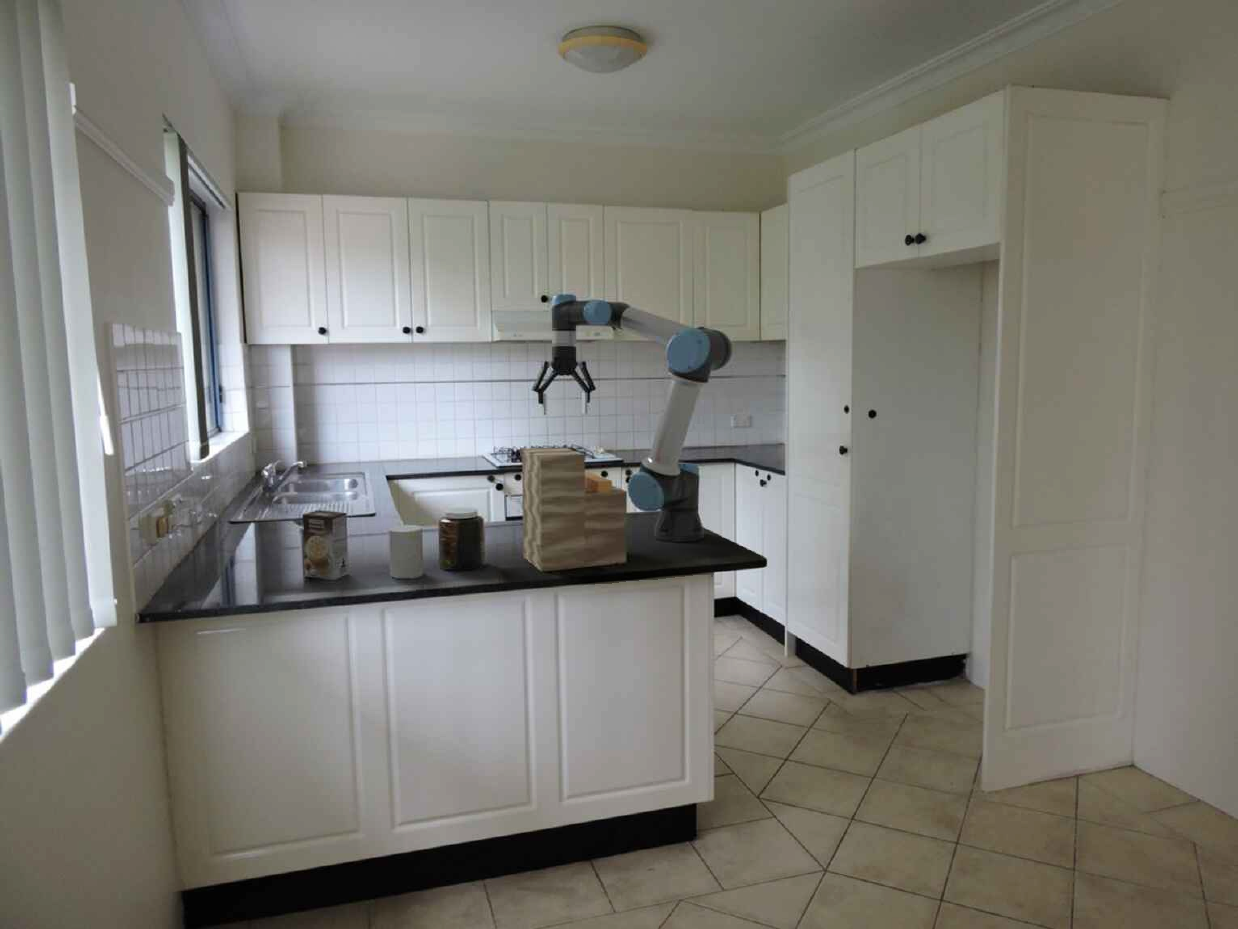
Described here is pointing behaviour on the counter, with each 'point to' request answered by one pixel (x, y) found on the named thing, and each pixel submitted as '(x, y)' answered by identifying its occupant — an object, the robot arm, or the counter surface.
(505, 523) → the counter surface
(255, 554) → the counter surface
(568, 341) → the robot arm
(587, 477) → the orange box
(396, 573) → the cup
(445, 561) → the jar
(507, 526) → the counter surface
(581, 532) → the wooden stepped block
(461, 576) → the counter surface
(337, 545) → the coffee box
